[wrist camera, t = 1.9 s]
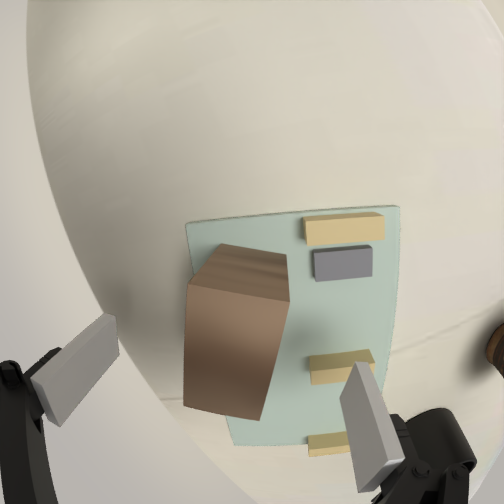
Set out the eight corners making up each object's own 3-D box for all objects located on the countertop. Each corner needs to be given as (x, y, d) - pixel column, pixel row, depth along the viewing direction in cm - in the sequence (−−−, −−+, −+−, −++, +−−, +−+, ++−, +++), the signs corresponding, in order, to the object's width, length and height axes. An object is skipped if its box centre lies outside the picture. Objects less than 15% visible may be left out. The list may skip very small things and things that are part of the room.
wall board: (189, 222, 20) (175, 230, 17) (394, 205, 18) (411, 210, 15) (235, 438, 26) (231, 459, 23) (369, 429, 24) (374, 448, 21)
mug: (383, 468, 27) (394, 516, 18) (388, 423, 24) (408, 485, 15) (441, 446, 25) (458, 489, 17) (458, 396, 23) (488, 447, 14)
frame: (219, 242, 19) (184, 283, 12) (286, 254, 19) (290, 302, 12) (208, 339, 21) (181, 405, 14) (266, 350, 21) (259, 421, 14)
